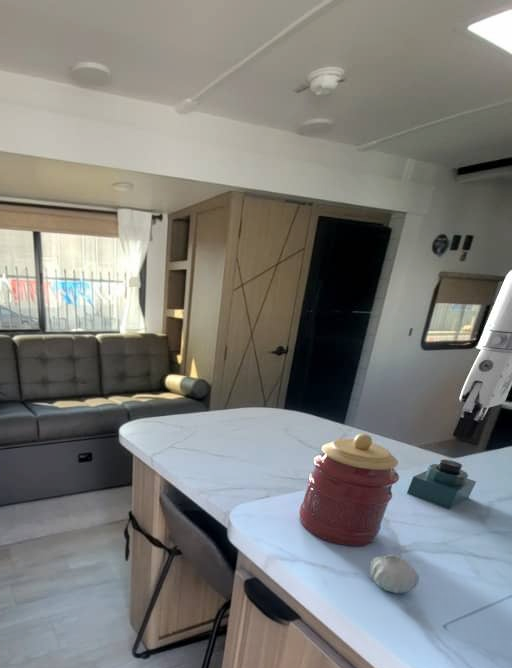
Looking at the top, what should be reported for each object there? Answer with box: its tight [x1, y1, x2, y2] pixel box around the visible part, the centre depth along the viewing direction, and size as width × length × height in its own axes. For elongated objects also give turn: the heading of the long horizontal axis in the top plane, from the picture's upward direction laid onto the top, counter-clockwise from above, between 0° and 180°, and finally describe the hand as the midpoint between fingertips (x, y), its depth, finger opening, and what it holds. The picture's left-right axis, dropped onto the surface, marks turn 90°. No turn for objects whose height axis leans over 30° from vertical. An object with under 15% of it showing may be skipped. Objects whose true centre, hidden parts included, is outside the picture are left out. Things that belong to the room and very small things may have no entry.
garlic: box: [369, 554, 420, 594], centre depth 57 cm, size 6×5×5 cm
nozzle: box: [438, 459, 463, 475], centre depth 84 cm, size 4×4×2 cm
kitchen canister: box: [299, 433, 400, 547], centre depth 69 cm, size 13×13×18 cm
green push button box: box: [406, 463, 477, 510], centre depth 85 cm, size 10×8×6 cm
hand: (463, 437), depth 82 cm, fingers closed
